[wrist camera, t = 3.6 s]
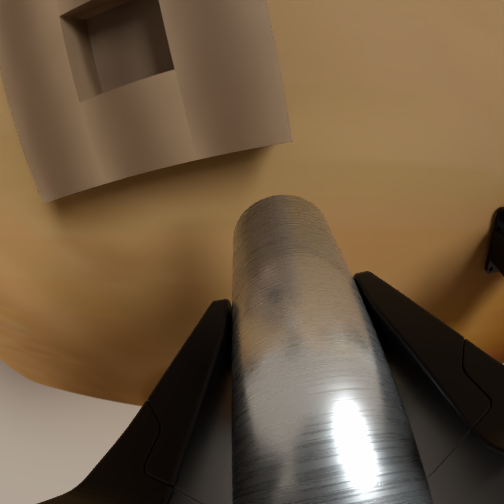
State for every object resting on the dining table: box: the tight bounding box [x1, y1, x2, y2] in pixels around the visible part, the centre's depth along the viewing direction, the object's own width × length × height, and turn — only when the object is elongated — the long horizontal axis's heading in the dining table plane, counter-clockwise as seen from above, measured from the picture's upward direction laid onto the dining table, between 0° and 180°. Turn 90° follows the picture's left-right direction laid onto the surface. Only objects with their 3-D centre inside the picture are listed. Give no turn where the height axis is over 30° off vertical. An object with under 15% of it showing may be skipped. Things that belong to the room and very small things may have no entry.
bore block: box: [0, 0, 292, 203], centre depth 13 cm, size 14×14×4 cm
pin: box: [232, 195, 433, 504], centre depth 7 cm, size 3×3×9 cm
